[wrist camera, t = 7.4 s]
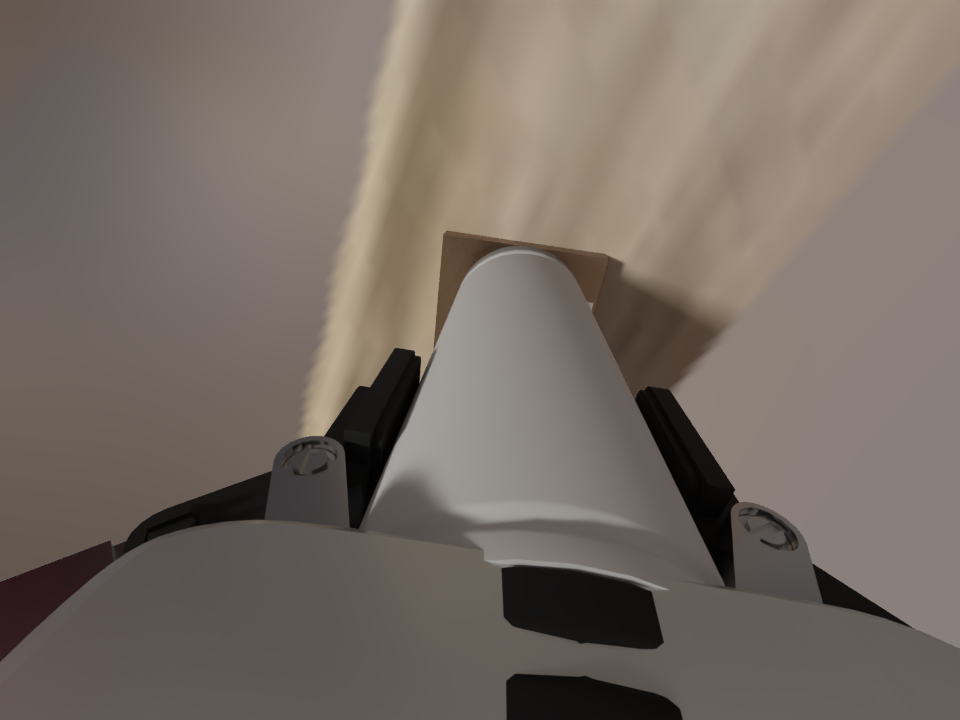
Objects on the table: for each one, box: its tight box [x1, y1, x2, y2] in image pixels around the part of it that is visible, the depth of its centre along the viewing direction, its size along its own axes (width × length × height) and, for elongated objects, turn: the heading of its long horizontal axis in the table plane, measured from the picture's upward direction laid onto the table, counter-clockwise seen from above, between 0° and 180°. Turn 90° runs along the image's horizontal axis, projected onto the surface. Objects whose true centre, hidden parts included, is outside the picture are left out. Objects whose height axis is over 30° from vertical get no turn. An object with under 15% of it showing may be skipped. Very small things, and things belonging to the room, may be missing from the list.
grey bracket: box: [434, 231, 609, 348], centre depth 20 cm, size 14×9×14 cm, turn 173°
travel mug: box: [359, 246, 725, 720], centre depth 11 cm, size 6×7×20 cm
